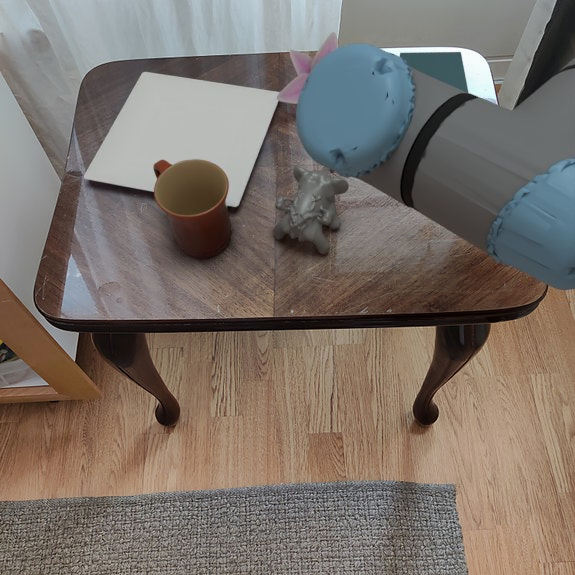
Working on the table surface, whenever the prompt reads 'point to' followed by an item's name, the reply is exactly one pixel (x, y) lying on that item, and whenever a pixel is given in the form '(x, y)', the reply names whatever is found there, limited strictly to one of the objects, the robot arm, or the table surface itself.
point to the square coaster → (439, 66)
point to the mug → (194, 205)
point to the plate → (184, 131)
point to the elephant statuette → (311, 207)
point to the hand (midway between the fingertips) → (525, 190)
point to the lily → (305, 69)
